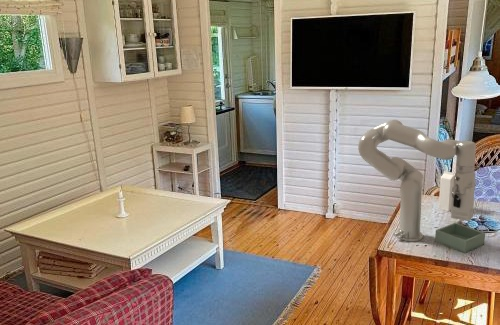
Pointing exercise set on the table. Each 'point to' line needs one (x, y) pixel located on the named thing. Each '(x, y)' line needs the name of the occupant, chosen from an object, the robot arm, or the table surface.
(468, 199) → the skincare box
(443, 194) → the milk
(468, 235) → the tote
